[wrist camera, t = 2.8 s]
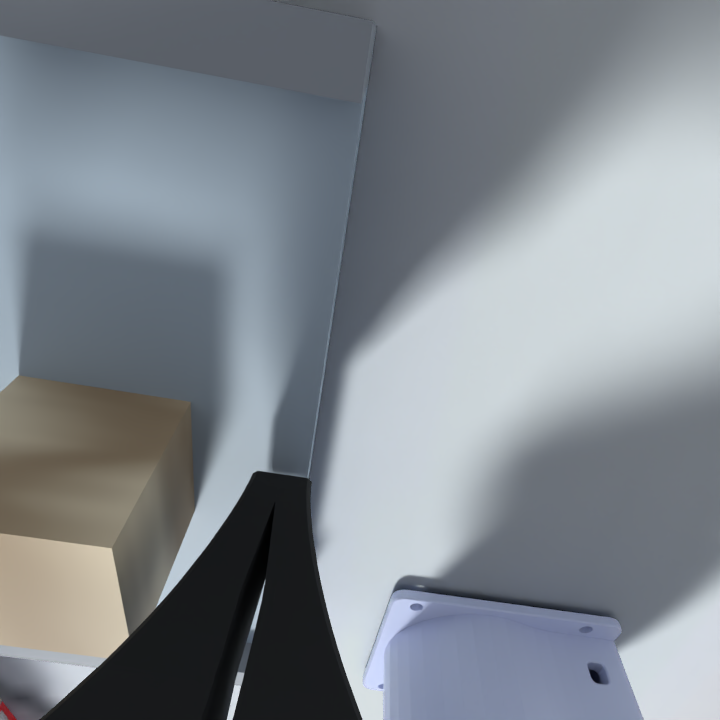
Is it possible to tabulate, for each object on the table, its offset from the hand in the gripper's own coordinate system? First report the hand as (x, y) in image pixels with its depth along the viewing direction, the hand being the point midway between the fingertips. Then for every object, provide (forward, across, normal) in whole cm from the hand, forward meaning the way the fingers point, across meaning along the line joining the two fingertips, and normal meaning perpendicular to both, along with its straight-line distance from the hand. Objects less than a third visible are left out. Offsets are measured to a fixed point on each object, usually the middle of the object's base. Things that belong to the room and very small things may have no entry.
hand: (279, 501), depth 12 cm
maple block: (+1, +4, 0) cm, 4 cm away
